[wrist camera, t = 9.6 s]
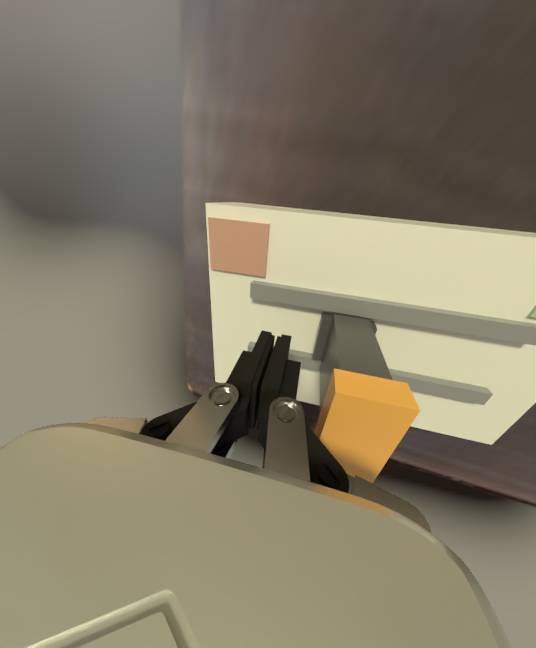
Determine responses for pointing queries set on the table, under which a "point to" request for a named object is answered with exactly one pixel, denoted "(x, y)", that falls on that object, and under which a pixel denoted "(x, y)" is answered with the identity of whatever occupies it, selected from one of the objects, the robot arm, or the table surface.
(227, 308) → the switch box
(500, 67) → the table surface
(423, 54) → the table surface
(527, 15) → the table surface
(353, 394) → the handle
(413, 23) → the table surface
